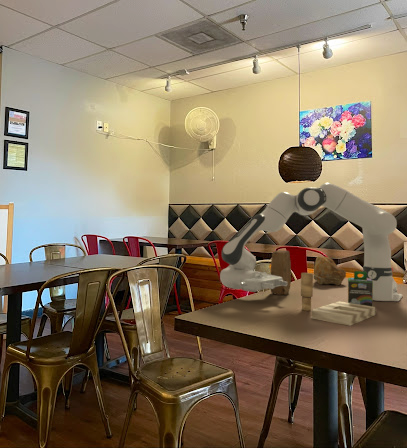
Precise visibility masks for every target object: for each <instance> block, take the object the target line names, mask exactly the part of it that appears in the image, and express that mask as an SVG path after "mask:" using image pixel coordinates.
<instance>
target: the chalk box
mask: <svg viewBox="0 0 407 448" xmlns="http://www.w3.org/2000/svg"><path fill="white" fill-rule="evenodd" d="M358 275H362V276H363V277H362V276H361V277H360V276H358ZM347 301H348V302H347V303H353V304H359V305H366V306H372V307H373V301H374V300H373V281H372V279H371V278H367V272H365V271H363V270H362V271H361V270H355V271H354V273H353V277H348V278H347Z"/></svg>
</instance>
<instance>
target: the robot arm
mask: <svg viewBox="0 0 407 448" xmlns="http://www.w3.org/2000/svg"><path fill="white" fill-rule="evenodd" d="M320 207H323V208H327V209H329V210H330V211H332V212H333V213H334V214H337V215H338V216H340V217H342V218H344V219H346V220H347V221H348V222H351V223H353V224H355V225H357V226H359V227H360V228H361V229H362V240H363V249H364V250H363V251H364V255H363V259H364V260H363V266H362V271H365V272H367V278H371V279H372V281H373V301H375V302H377V301H378V302H380V301H381V302H399V301H400V300H401V299H402V298H403V294H402V293H398V283H397V282H396V281H395V279H394V277H393V273H394V267H392V248H391V245H390V239H389V235H391V234H392V233H393V232H394V231H396V229H397V225H398V223H397V218H396V217H395V216H394V215H393V214H392V213H390V212H388V211H386V210H385V209H383V208H381V207H379V206H376V205H375V204H372V203H370V202H368V201H366V200H363V199H362V198H360V197H359V196H357V195H355V194H354V193H352V192H350V191H348V190H346V189H344V188H343V187H340V186H338V185H336V184H334V183H331V182H324V183H323V184H321V185H320V186H319V187H311V186H310V187H305V188H303V189H302V190H300V192H298V193H297V194H296V195H295V194H294V195H293V194H291V193H290V192H286V191H280V192H279V193H277V194H276V196H274V197H273V199H272V200H271V201H270V202H269V203H268V204H267V206H266V207H265V208H264V210H262V212H261V213H257V214H255V215H253V216H252V217H251V218H250V219H249V220H248V221H247V222H246V224H244V225H243V226H242V228H241V229H240V230H239V231H238V232H237V233H236V234H235V235H234V236H233V237H232V238H231V239H230V240H228V241H227V242H226V243H225V244H224V245H223V247H222V249H221V258H222V261H224V262H225V263H226V264H228V266H227V267H226V268H223V269H222V270H221V271H220V273H219V274H220V275H219V279H220V283H222V285H223V286H224V287H227V288H230V289H234V290H242V291H244V292H250V293H256V292H258V291H261V290H266V289H270V290H271V289H274V288H275V287H277V286H287V282H286V281H283V278H282V277H280V276H275V275H271V273H270V274H268V273H267V272H265V271H264V272H263V271H258V270H257V271H256V270H255V269H256V266H257V258H256V257H255V255H254V254H252V253H251V251H249V250H247V248H246V244H248V242H250V240H252V238H253V237H254V236H255V235H256V233H258V232H261V231H263V232H264V231H265V232H269V233H275V232H279V231H280V230H281V229H282V228H283V227H284V225H285V224H286V223H287V222H288V220H289V219H290V217H291V216H292V215H296V216H297V215H298V216H300V217H309V216H311V215H313V214H314V213H316V212H317V210H318V209H319V208H320ZM361 277H363V275H362V276H361Z"/></svg>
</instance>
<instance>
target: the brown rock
mask: <svg viewBox="0 0 407 448" xmlns="http://www.w3.org/2000/svg"><path fill="white" fill-rule="evenodd" d="M337 265H338V264H336V262H335V261H334V260H333V259H332V258H330V257H329V256H328V257H327V256H320V255H319V256H317V257H316V259H315V262H314V266H313V280H314V281H316V282H317V284H318V285H320V286H321V285H324V284H325V285H330V284H333V285H336V286H340V285H341V284H342V283H343V281H344V279H346V276H347V272H346V270H345V269H343V268H341V267H338V266H337Z"/></svg>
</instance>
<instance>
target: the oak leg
mask: <svg viewBox="0 0 407 448" xmlns="http://www.w3.org/2000/svg"><path fill="white" fill-rule="evenodd" d="M300 276H301V277H300V296H301V311H306V312H311V310H312V298H313V295H314V294H313V293H314V291H313V290H314V287H313V286H314V273H313V272H311V273H310V272H301V274H300Z"/></svg>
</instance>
